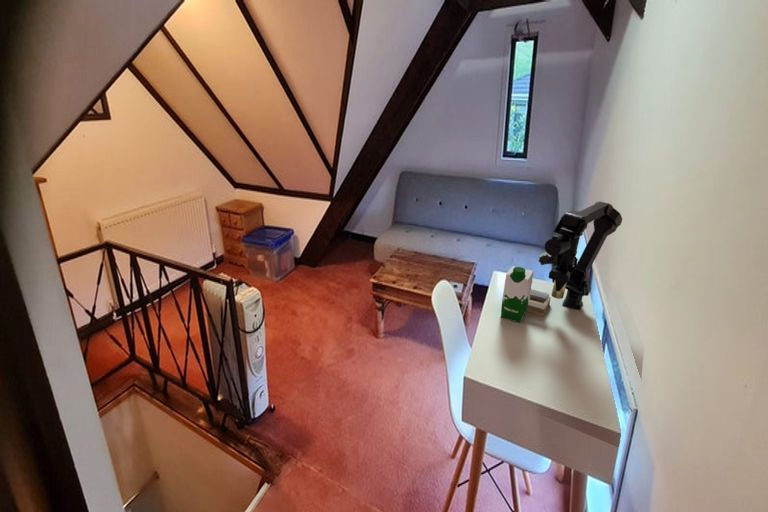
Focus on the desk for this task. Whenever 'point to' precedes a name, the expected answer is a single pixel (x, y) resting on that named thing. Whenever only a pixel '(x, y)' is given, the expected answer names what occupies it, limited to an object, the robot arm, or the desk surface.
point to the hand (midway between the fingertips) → (559, 288)
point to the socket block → (538, 302)
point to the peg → (558, 292)
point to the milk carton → (516, 293)
